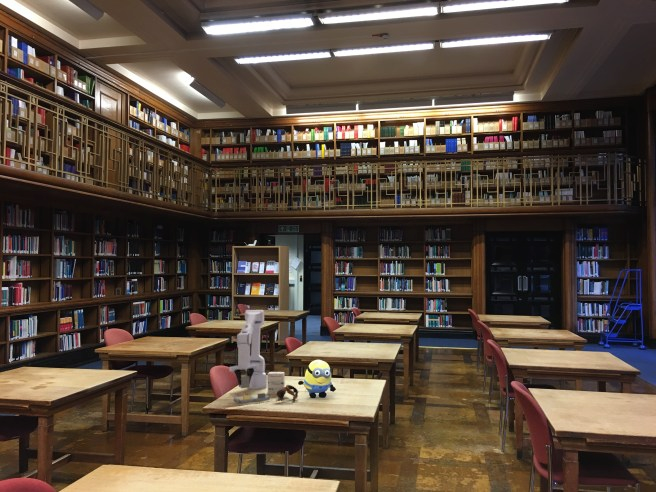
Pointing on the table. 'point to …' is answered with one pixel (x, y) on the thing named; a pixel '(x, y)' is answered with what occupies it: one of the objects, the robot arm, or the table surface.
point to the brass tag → (246, 397)
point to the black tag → (261, 395)
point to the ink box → (275, 382)
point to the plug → (244, 381)
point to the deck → (238, 394)
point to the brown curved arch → (289, 390)
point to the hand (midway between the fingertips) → (244, 384)
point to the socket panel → (252, 399)
